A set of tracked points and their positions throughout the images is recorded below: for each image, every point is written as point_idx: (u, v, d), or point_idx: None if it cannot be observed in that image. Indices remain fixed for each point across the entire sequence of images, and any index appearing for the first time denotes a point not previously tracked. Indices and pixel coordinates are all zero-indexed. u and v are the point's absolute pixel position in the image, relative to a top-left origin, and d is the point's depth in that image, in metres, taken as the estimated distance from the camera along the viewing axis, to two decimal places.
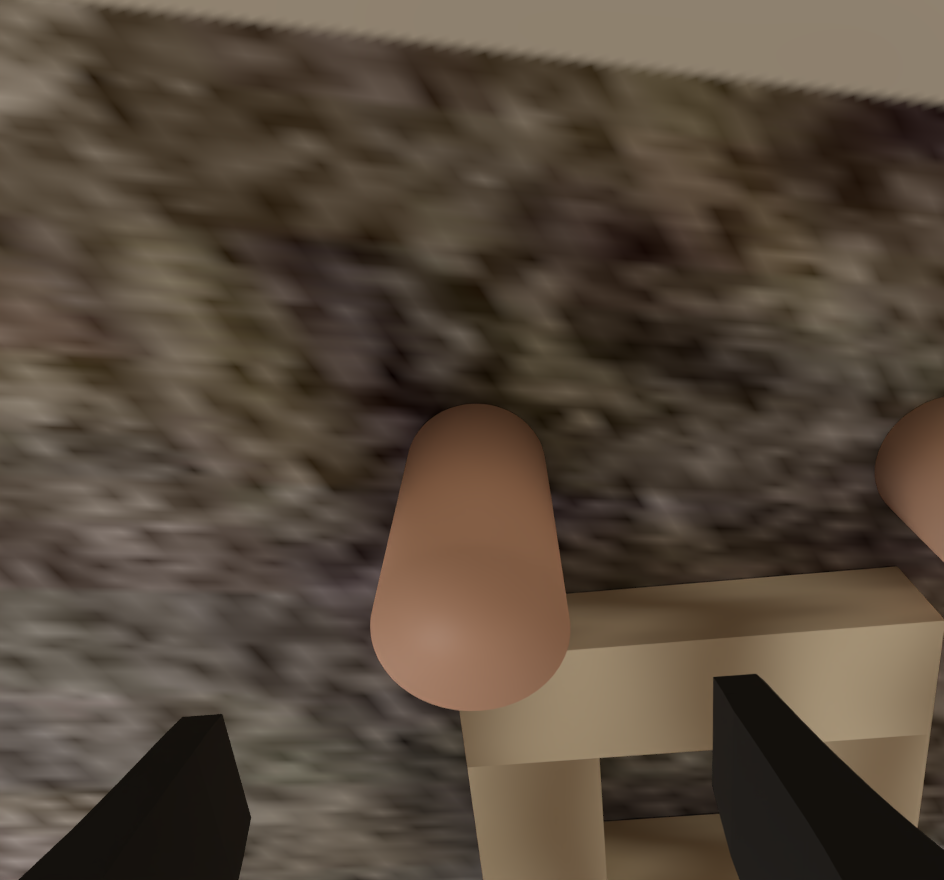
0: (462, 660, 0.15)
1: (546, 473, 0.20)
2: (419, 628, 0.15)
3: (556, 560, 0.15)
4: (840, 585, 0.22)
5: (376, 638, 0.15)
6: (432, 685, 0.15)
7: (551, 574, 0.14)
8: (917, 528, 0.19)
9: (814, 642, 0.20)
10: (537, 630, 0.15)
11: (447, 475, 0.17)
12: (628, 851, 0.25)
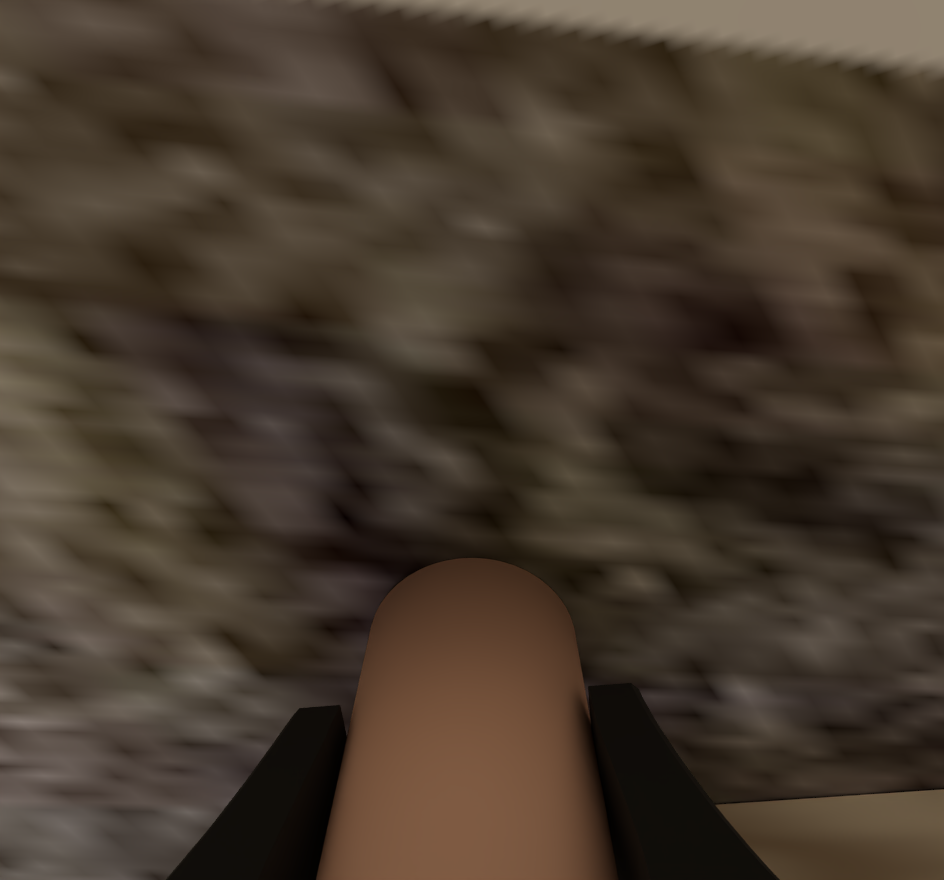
0: None
1: (581, 676, 0.13)
2: None
3: None
4: None
5: None
6: None
7: None
8: None
9: None
10: None
11: (421, 737, 0.10)
12: None
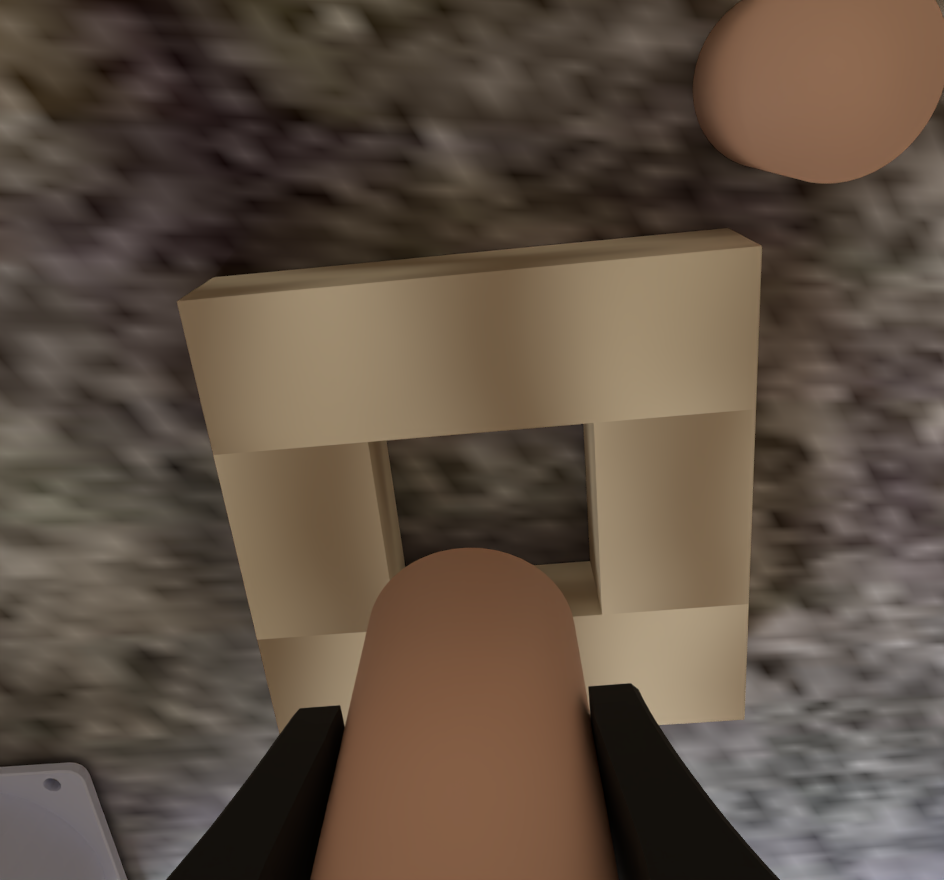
0: None
1: (578, 660, 0.13)
2: None
3: None
4: (655, 239, 0.18)
5: None
6: None
7: None
8: (724, 122, 0.16)
9: (607, 277, 0.17)
10: None
11: (411, 725, 0.10)
12: None
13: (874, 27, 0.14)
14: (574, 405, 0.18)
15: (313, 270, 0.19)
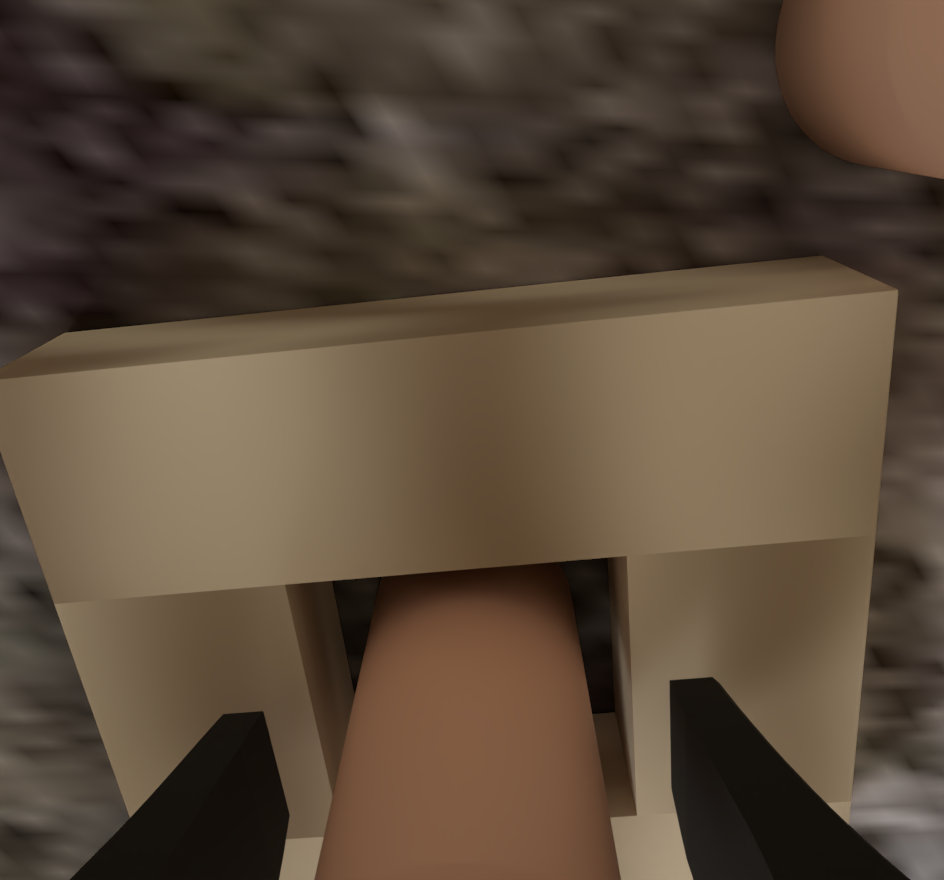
0: None
1: (574, 625, 0.13)
2: None
3: (603, 835, 0.09)
4: (717, 275, 0.12)
5: None
6: None
7: None
8: (842, 92, 0.10)
9: (650, 340, 0.11)
10: None
11: (420, 677, 0.11)
12: None
13: None
14: (597, 531, 0.12)
15: (206, 323, 0.13)
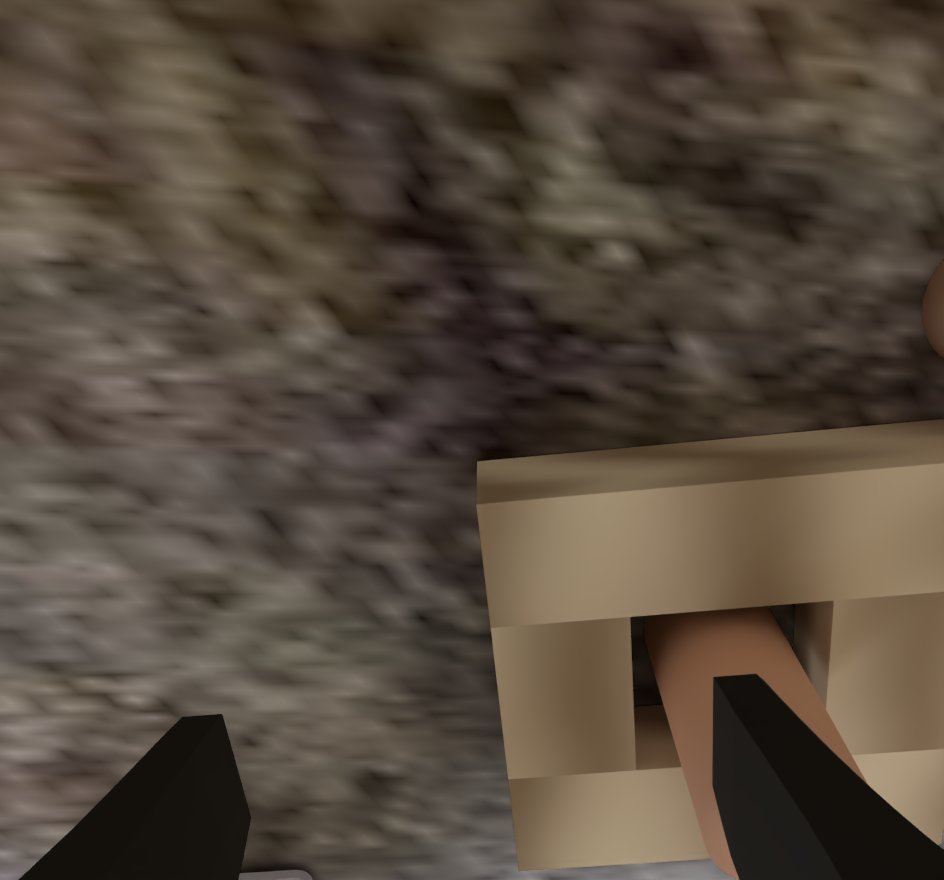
0: None
1: None
2: None
3: (850, 753, 0.18)
4: (884, 435, 0.20)
5: (707, 835, 0.17)
6: None
7: (862, 776, 0.17)
8: None
9: (860, 484, 0.19)
10: None
11: (729, 670, 0.19)
12: (656, 733, 0.24)
13: None
14: (818, 586, 0.20)
15: (572, 458, 0.21)
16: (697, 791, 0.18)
